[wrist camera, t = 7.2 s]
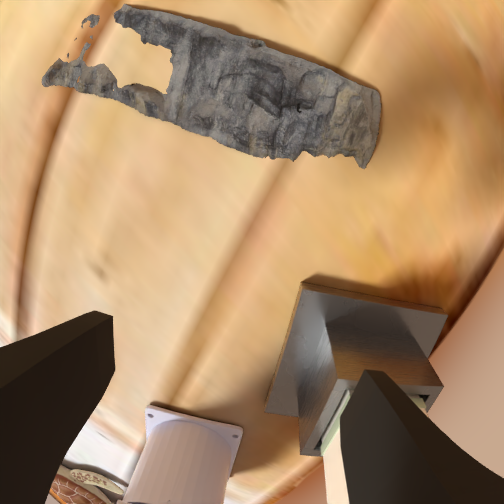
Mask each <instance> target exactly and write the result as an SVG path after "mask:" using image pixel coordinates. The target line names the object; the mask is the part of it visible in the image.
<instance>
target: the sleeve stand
mask: <svg viewBox="0 0 504 504" xmlns="http://www.w3.org/2000/svg"><path fill="white" fill-rule="evenodd" d="M447 317H448V315H447V313H446V312H445V311H444V310H443V309H442V308H437V307H431V306H426V305H420V304H415V303H409V302H404V301H398V300H393V299H388V298H382V297H377V296H372V295H366V294H361V293H356V292H351V291H345V290H340V289H335V288H330V287H325V286H320V285H315V284H310V283H305V282H301V284H300V288H299V291H298V295H297V299H296V302H295V306H294V309H293V313H292V316H291V320H290V323H289V327H288V330H287V334H286V337H285V341H284V344H283V347H282V351H281V354H280V357H279V360H278V364H277V367H276V370H275V373H274V377H273V380H272V383H271V386H270V389H269V392H268V395H267V399H266V402H265V412H266V413H273V414H279V415H286V416H294V417H299V441H300V455H307V456H320V457H323V456H321V445H322V439H321V436H322V434H323V432H324V430H325V428H326V427H327V425H328V423H329V421H330V419H331V417H332V415H333V413H334V411H335V410H336V408H337V406H338V404H339V402H340V400H341V398H342V396H343V394H344V392H345V390H346V389H347V390H354V389H355V387H356V385H357V383H358V381H359V379H360V377H361V375H362V373H363V371H364V369H368V370H377V371H383V372H385V373H386V374H387V375H388V376H389V377H390V378H391V379H392V380H393V381H394V382H395V383H396V384H397V385H398V386H399V387H400V388H401V389H402V390H403V391H404V392H405V393H406V394H418V395H419V397H420V398H423V400H424V403H425V405H426V409H425V410H426V412H428V410H429V409H430V408H431V406H432V405H433V403H434V401H435V400H436V398H437V397H438V395H439V394H440V392H441V390H442V389H443V387H444V386H443V384H442V382H441V381H440V379H439V377H438V376H437V374H436V372H435V371H434V369H433V367H432V366H431V364H430V362H429V360H428V357H429V355H430V353H431V351H432V349H433V347H434V345H435V343H436V341H437V339H438V337H439V334H440V332H441V330H442V328H443V326H444V324H445V321H446V319H447Z"/></svg>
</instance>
